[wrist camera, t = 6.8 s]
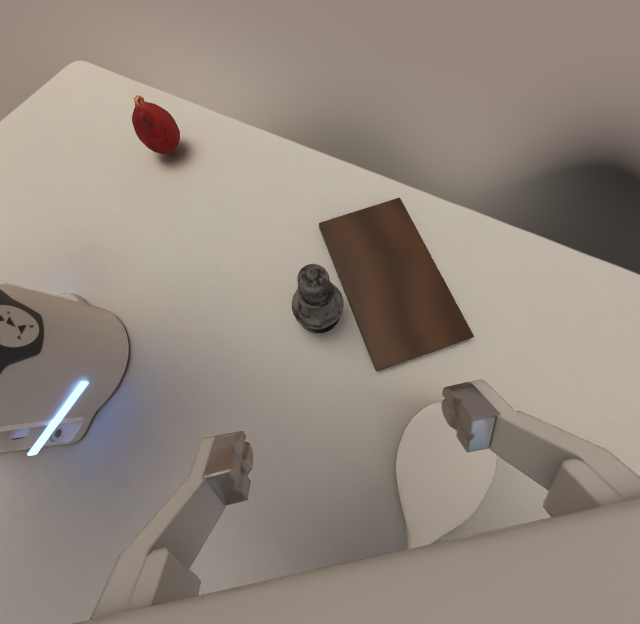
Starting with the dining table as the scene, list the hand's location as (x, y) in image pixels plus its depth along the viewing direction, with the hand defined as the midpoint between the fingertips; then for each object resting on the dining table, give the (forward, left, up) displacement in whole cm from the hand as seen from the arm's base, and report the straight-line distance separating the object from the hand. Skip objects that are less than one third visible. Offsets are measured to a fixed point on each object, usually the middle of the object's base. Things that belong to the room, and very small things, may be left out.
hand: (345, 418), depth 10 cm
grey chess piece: (+1, +10, -20) cm, 22 cm away
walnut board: (+11, +12, -19) cm, 25 cm away
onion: (-13, +45, -20) cm, 50 cm away
